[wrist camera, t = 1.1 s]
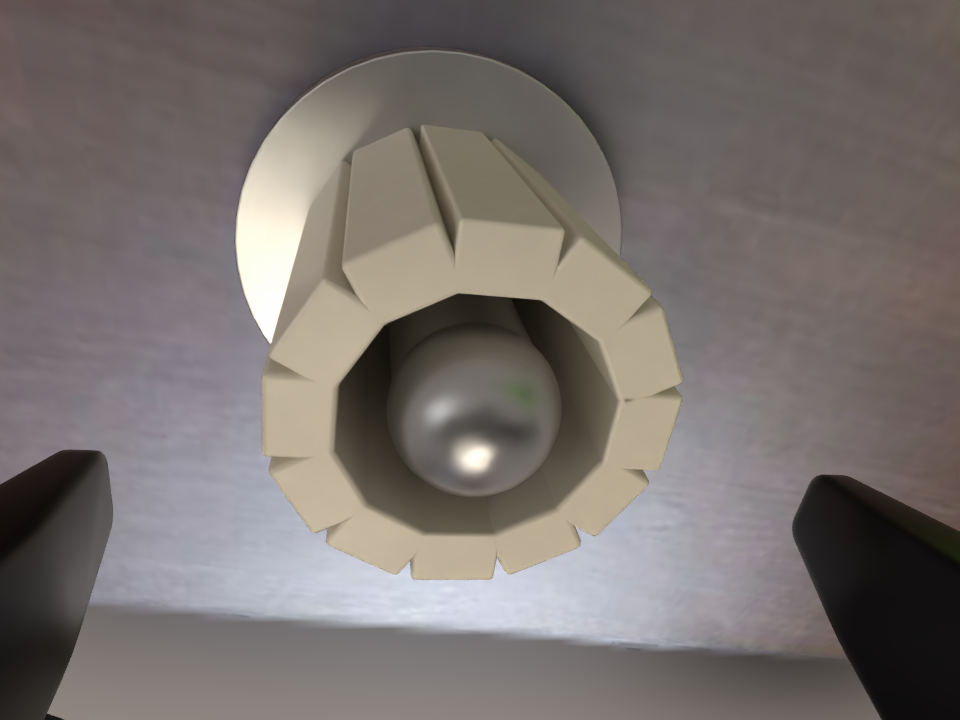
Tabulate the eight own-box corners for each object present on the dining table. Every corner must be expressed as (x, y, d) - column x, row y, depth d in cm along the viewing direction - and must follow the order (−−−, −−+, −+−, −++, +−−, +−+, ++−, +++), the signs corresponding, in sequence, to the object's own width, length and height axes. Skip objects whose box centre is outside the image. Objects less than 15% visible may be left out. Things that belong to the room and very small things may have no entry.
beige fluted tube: (300, 366, 17) (260, 581, 10) (308, 109, 14) (260, 197, 8) (536, 379, 18) (625, 581, 12) (585, 145, 15) (734, 246, 9)
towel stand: (243, 394, 18) (148, 696, 10) (238, 14, 14) (74, 36, 6) (569, 410, 20) (699, 677, 12) (650, 77, 16) (926, 157, 8)
